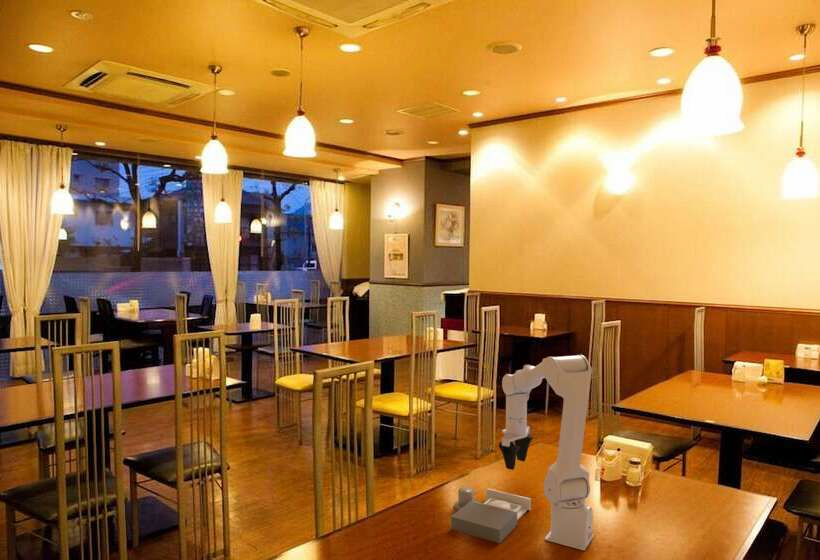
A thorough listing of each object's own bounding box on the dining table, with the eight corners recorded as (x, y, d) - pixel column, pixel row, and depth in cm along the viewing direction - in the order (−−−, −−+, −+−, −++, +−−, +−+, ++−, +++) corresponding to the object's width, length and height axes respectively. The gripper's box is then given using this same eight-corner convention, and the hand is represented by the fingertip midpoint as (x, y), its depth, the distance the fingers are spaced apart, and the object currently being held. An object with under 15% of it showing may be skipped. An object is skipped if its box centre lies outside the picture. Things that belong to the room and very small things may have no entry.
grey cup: (480, 505, 157) (480, 488, 157) (470, 513, 152) (470, 496, 152) (460, 500, 160) (460, 484, 160) (450, 508, 155) (450, 491, 155)
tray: (530, 510, 154) (530, 498, 154) (514, 526, 145) (515, 514, 145) (487, 499, 161) (487, 488, 161) (469, 514, 151) (469, 502, 151)
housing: (517, 525, 145) (517, 511, 145) (499, 543, 136) (499, 529, 136) (470, 512, 152) (470, 500, 152) (451, 529, 143) (451, 516, 143)
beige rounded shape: (513, 509, 153) (513, 503, 153) (504, 517, 148) (504, 511, 148) (494, 504, 156) (494, 498, 156) (485, 512, 152) (485, 506, 151)
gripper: (513, 408, 169) (513, 454, 170) (491, 420, 157) (491, 469, 158) (536, 412, 165) (536, 459, 166) (515, 424, 153) (515, 475, 154)
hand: (515, 464), depth 161 cm, fingers open, 7 cm apart
